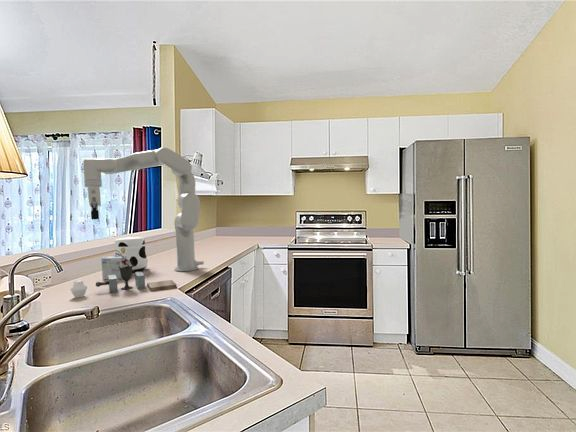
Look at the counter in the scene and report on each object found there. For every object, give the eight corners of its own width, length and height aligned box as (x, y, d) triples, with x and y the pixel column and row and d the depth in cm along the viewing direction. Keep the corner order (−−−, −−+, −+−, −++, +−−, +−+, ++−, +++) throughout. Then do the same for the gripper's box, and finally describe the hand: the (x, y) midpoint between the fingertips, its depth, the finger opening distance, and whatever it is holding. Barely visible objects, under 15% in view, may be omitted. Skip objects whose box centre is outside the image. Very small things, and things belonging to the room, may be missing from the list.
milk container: (107, 273, 208) (105, 240, 207) (127, 267, 225) (125, 236, 224) (135, 274, 204) (134, 240, 203) (154, 267, 221) (152, 236, 220)
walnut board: (171, 283, 180) (171, 279, 180) (176, 287, 170) (176, 284, 170) (147, 286, 175) (147, 283, 174) (150, 291, 165) (150, 287, 165)
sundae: (119, 291, 167) (117, 257, 166) (118, 288, 173) (116, 255, 172) (135, 289, 170) (133, 255, 169) (134, 286, 176) (132, 253, 175)
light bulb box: (128, 276, 199) (127, 255, 199) (122, 279, 193) (120, 257, 192) (109, 276, 200) (108, 255, 200) (102, 279, 194) (100, 258, 193)
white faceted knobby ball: (72, 299, 155) (70, 282, 155) (70, 296, 160) (68, 280, 160) (89, 296, 159) (87, 280, 158) (86, 294, 164) (85, 277, 163)
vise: (142, 284, 179) (141, 271, 178) (145, 288, 170) (144, 275, 170) (95, 290, 170) (95, 276, 170) (96, 295, 161) (95, 281, 161)
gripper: (101, 183, 181) (103, 219, 182) (101, 184, 197) (103, 217, 198) (83, 183, 178) (86, 220, 179) (85, 184, 194) (87, 218, 195)
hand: (95, 218), depth 188 cm, fingers open, 9 cm apart
